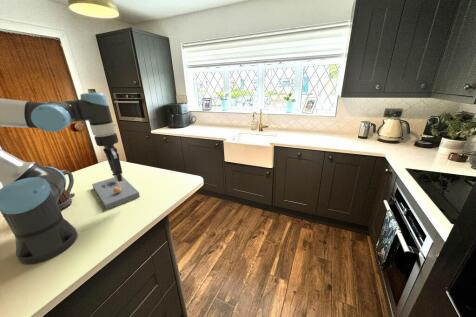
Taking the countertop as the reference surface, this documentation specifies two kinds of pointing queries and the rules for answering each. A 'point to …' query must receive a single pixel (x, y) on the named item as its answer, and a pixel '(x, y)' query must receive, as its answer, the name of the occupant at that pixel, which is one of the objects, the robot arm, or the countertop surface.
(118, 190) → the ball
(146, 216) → the countertop surface
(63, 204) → the mug
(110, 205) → the plate
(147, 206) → the countertop surface
